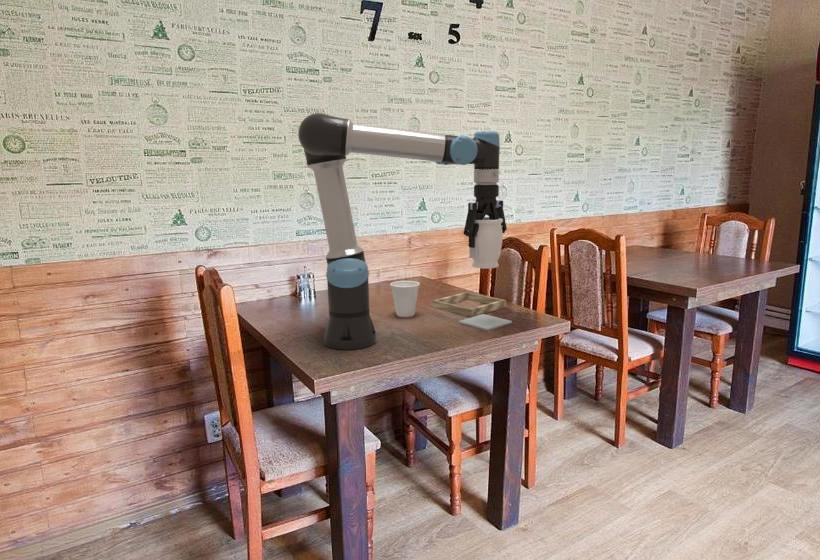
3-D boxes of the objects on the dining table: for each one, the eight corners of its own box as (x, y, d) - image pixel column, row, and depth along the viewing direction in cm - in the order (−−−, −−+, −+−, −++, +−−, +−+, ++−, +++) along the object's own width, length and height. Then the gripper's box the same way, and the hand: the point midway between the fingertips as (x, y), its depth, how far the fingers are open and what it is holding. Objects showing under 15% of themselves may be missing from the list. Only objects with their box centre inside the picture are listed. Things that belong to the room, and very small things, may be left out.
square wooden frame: (470, 317, 183) (470, 309, 183) (432, 307, 197) (432, 300, 196) (506, 307, 195) (506, 300, 195) (467, 298, 209) (467, 291, 208)
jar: (504, 269, 168) (505, 220, 165) (470, 269, 168) (470, 220, 165) (499, 263, 178) (500, 216, 175) (467, 263, 178) (467, 217, 175)
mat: (487, 330, 168) (487, 328, 168) (458, 322, 177) (458, 321, 177) (512, 322, 176) (512, 321, 176) (483, 315, 185) (483, 313, 185)
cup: (417, 319, 181) (416, 287, 179) (387, 318, 183) (387, 286, 181) (422, 312, 191) (422, 280, 189) (394, 311, 193) (393, 280, 191)
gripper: (470, 185, 158) (469, 261, 162) (519, 182, 173) (517, 252, 177) (451, 185, 163) (451, 259, 168) (500, 182, 178) (499, 250, 183)
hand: (485, 255), depth 172 cm, fingers closed on jar, 10 cm apart
